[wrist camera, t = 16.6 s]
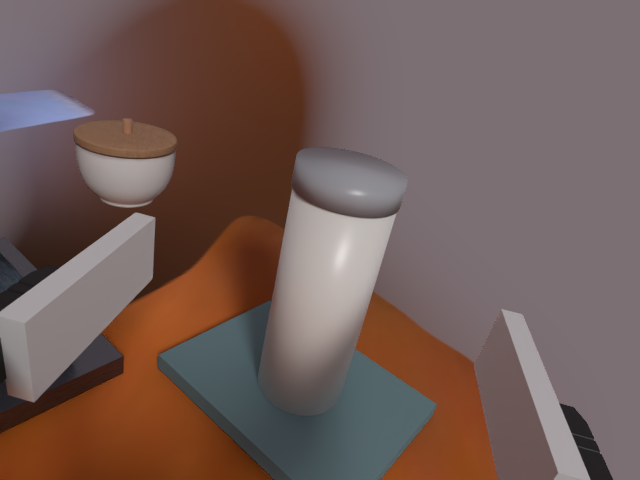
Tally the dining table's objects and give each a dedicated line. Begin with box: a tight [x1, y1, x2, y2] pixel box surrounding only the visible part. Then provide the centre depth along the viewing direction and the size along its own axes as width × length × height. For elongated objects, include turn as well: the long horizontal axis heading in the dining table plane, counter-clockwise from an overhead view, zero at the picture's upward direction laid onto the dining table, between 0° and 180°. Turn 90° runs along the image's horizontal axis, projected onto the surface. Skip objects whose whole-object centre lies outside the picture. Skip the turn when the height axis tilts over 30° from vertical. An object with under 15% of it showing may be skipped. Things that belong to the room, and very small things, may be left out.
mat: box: [158, 299, 437, 480], centre depth 32 cm, size 16×12×1 cm
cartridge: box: [258, 147, 408, 416], centre depth 28 cm, size 6×6×16 cm
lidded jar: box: [73, 118, 177, 208], centre depth 52 cm, size 11×11×9 cm
